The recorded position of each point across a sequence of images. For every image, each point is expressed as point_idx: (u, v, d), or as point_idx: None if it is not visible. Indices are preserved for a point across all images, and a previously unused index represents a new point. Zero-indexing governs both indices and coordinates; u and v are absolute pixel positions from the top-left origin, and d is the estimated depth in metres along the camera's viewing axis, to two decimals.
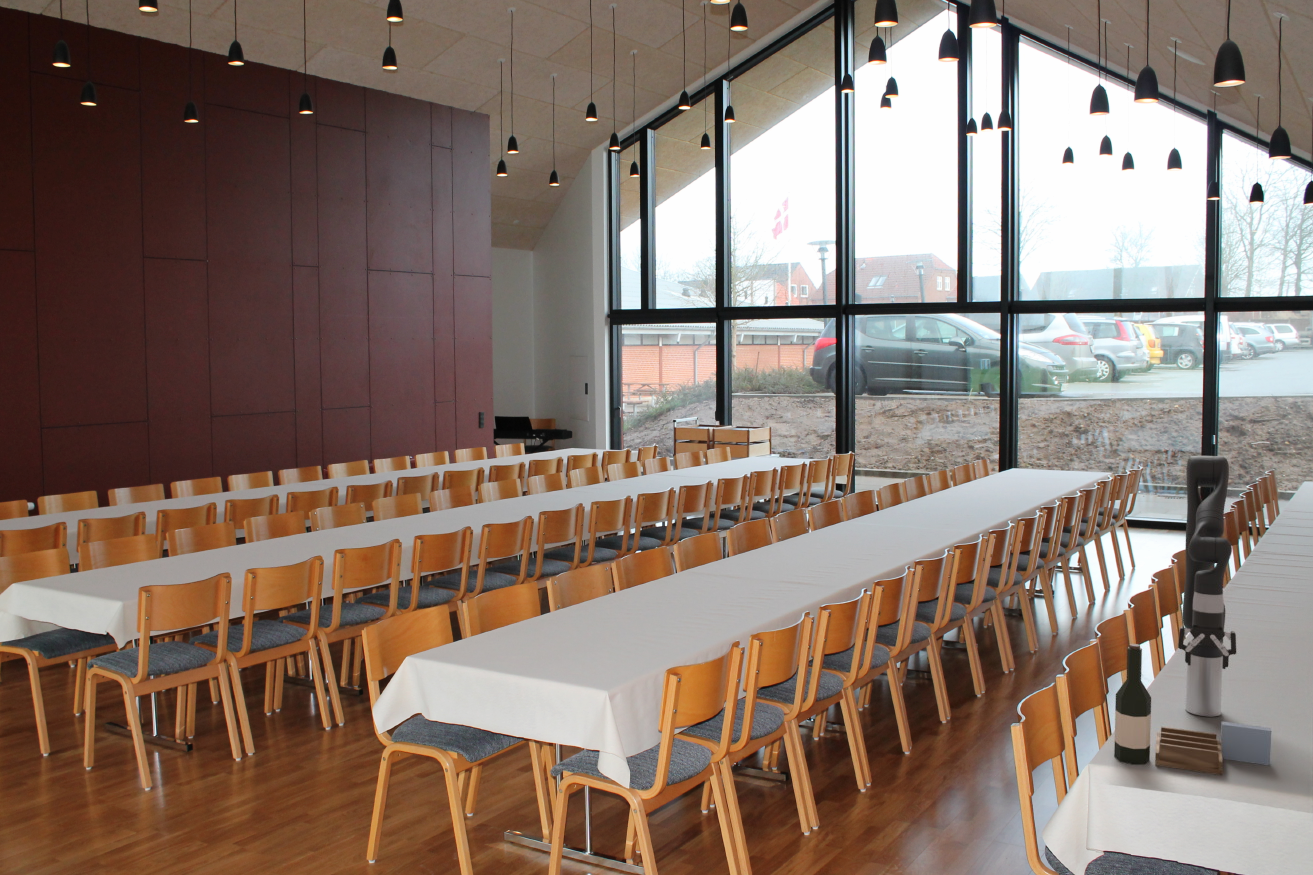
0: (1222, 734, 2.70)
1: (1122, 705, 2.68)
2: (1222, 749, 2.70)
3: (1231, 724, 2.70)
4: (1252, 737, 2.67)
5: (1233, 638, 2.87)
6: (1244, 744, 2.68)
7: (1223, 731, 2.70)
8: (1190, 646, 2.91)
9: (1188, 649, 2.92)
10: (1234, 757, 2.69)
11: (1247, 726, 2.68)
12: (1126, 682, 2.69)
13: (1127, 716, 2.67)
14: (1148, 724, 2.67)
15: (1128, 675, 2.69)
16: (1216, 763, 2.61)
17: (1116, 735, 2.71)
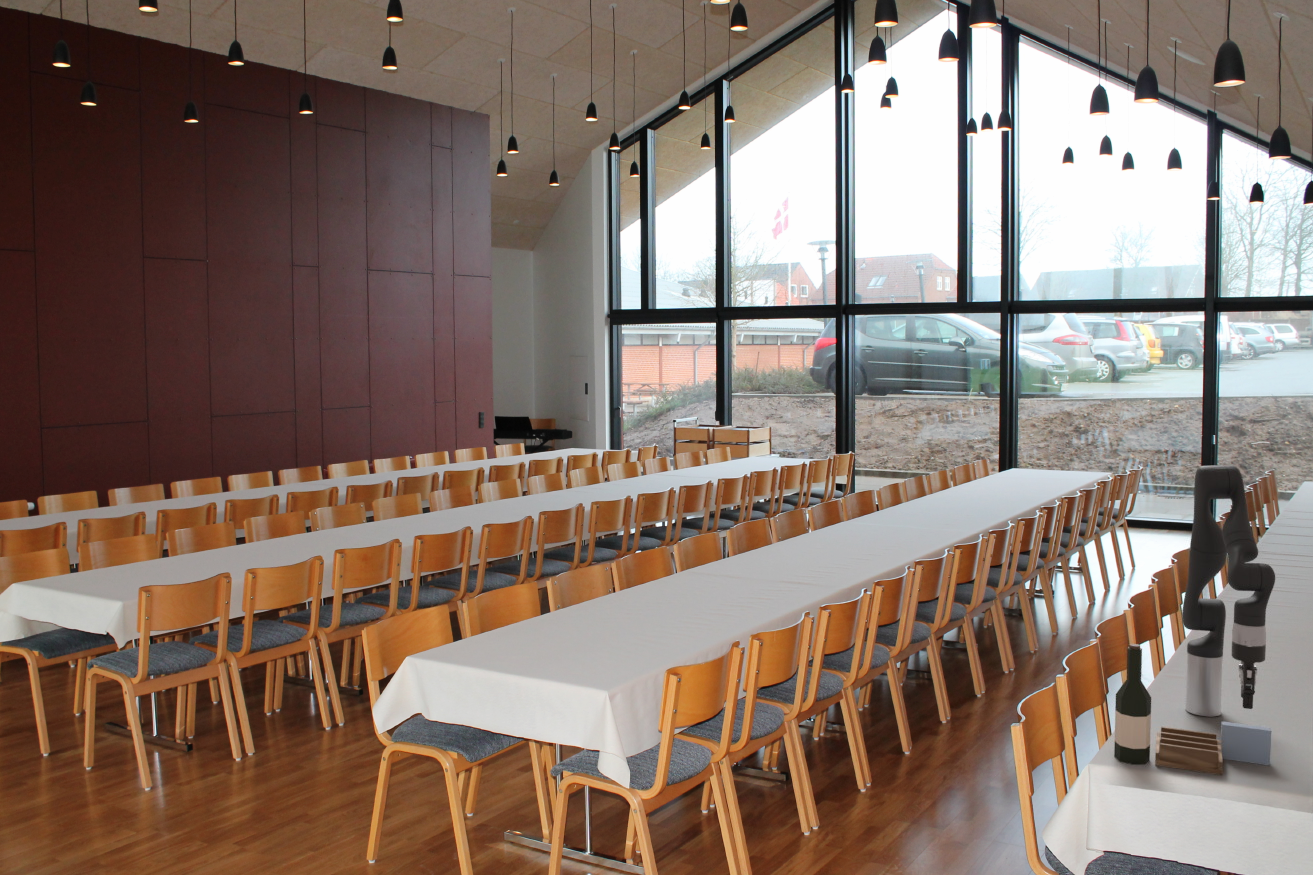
0: (1222, 734, 2.70)
1: (1122, 705, 2.68)
2: (1222, 749, 2.70)
3: (1231, 724, 2.70)
4: (1252, 737, 2.67)
5: None
6: (1243, 744, 2.68)
7: (1223, 731, 2.70)
8: None
9: None
10: (1234, 757, 2.69)
11: (1247, 726, 2.68)
12: (1126, 682, 2.69)
13: (1127, 716, 2.67)
14: (1148, 724, 2.67)
15: (1128, 675, 2.69)
16: (1216, 763, 2.61)
17: (1116, 735, 2.71)
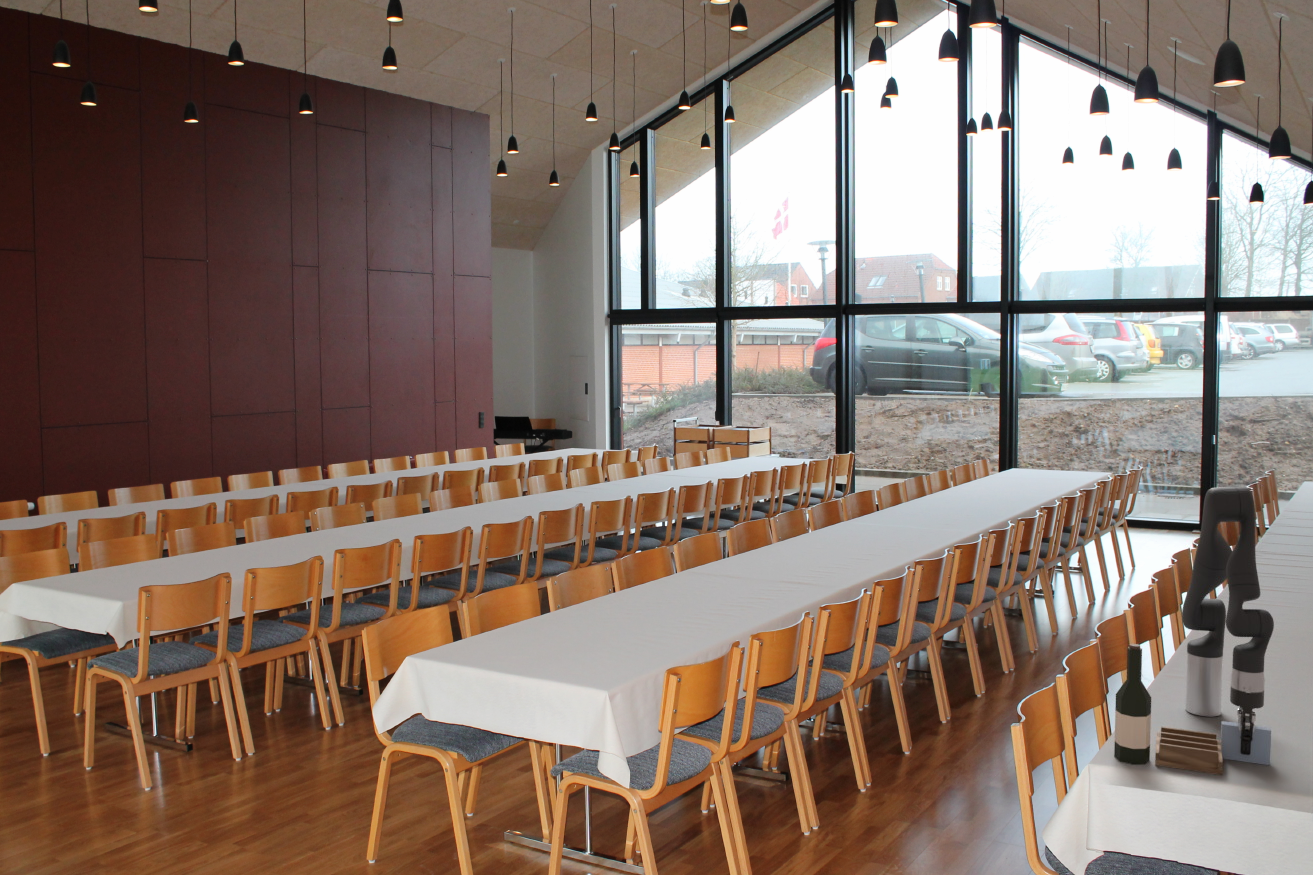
0: (1222, 734, 2.70)
1: (1122, 705, 2.68)
2: (1222, 749, 2.70)
3: (1231, 723, 2.70)
4: (1252, 737, 2.67)
5: None
6: None
7: (1223, 731, 2.70)
8: None
9: None
10: (1234, 756, 2.69)
11: None
12: (1126, 682, 2.69)
13: (1127, 716, 2.67)
14: (1148, 725, 2.67)
15: (1128, 675, 2.69)
16: (1216, 763, 2.61)
17: (1116, 735, 2.71)
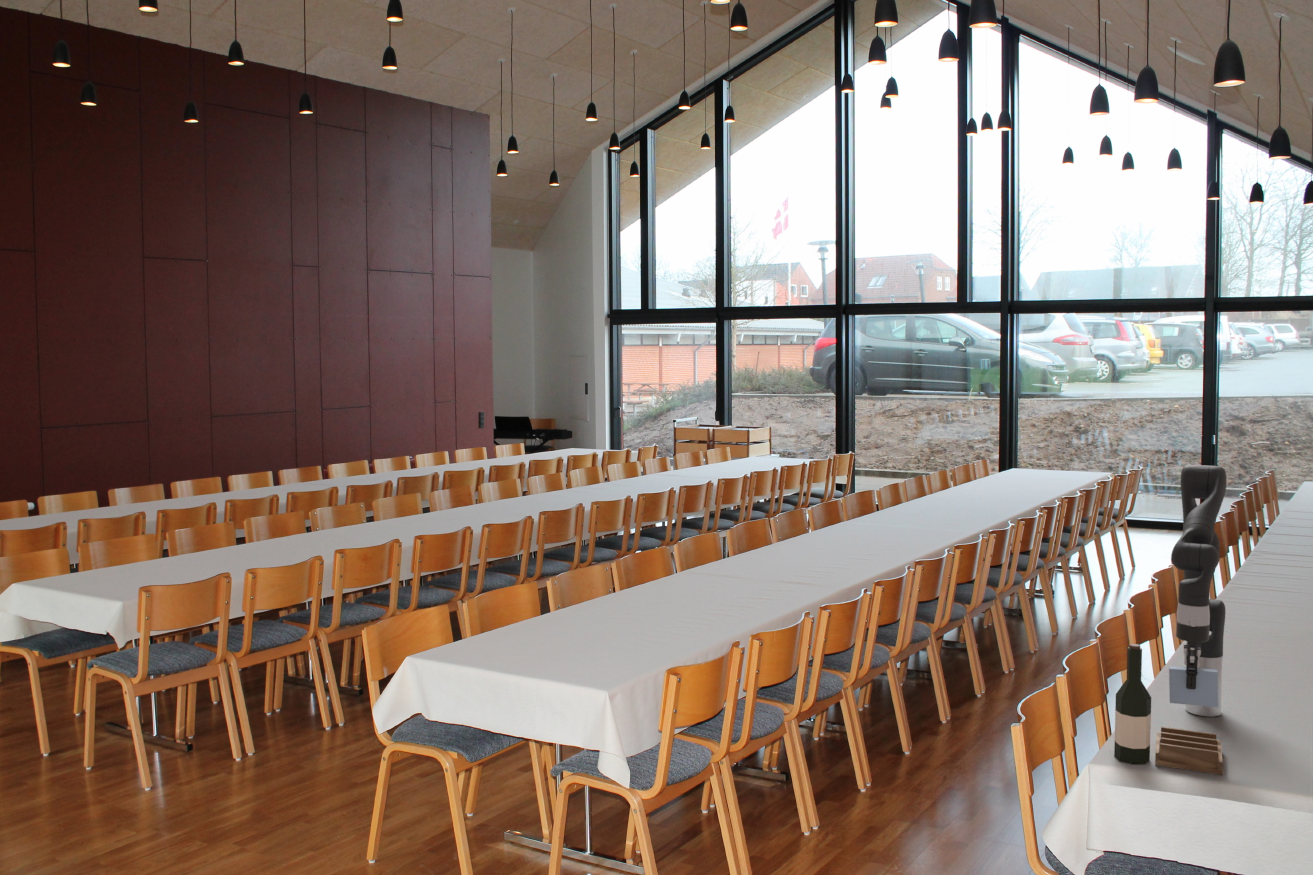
0: (1170, 678, 2.70)
1: (1122, 705, 2.68)
2: (1171, 693, 2.70)
3: (1179, 667, 2.70)
4: (1199, 680, 2.67)
5: None
6: None
7: (1171, 675, 2.70)
8: None
9: None
10: (1183, 700, 2.69)
11: (1194, 669, 2.68)
12: (1126, 682, 2.69)
13: (1127, 716, 2.67)
14: (1148, 724, 2.67)
15: (1128, 675, 2.69)
16: (1216, 763, 2.61)
17: (1116, 735, 2.71)
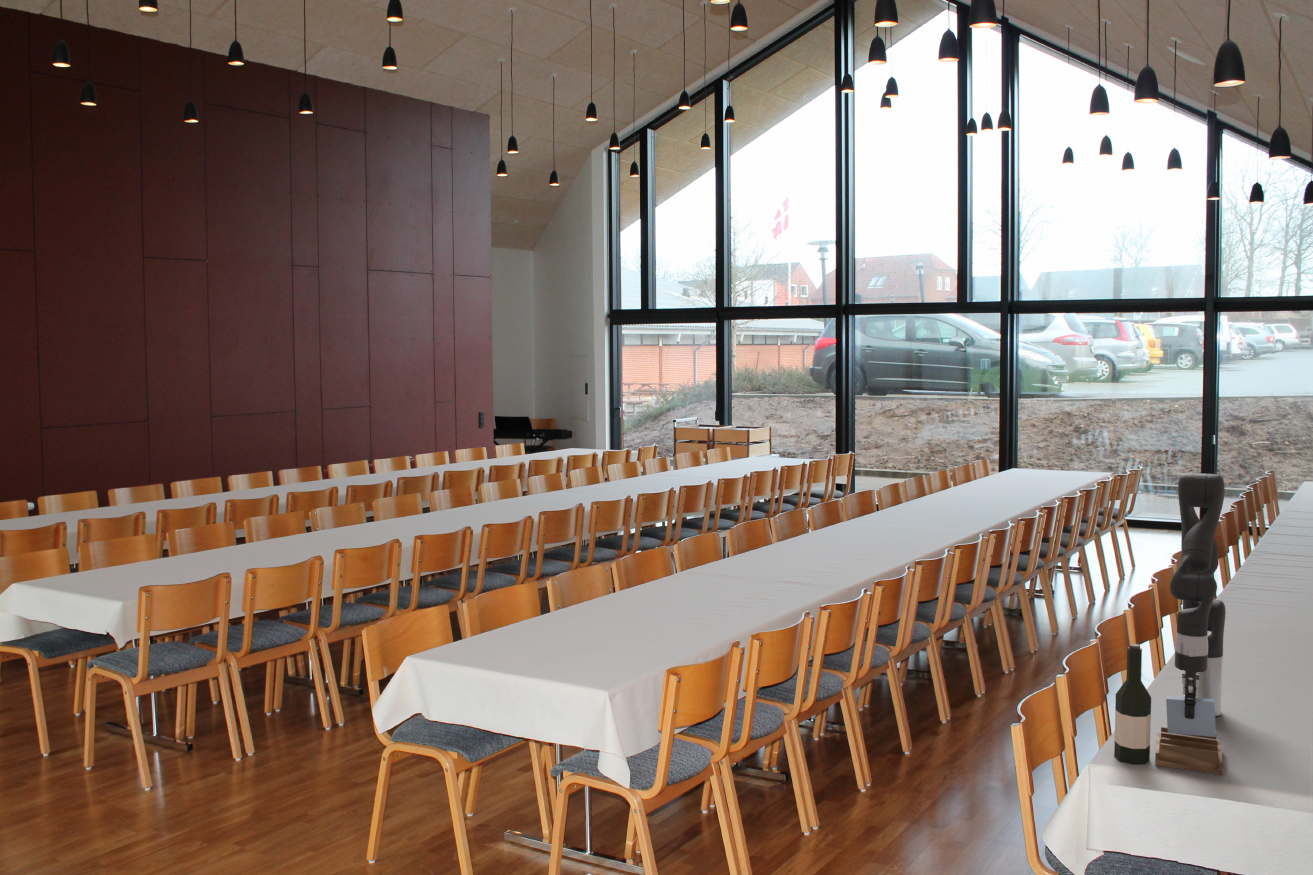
0: (1167, 708, 2.71)
1: (1122, 705, 2.68)
2: (1168, 723, 2.71)
3: (1176, 697, 2.71)
4: (1196, 710, 2.67)
5: None
6: None
7: (1168, 705, 2.70)
8: None
9: None
10: (1180, 730, 2.70)
11: (1191, 699, 2.69)
12: (1126, 682, 2.69)
13: (1127, 716, 2.67)
14: (1148, 724, 2.67)
15: (1128, 675, 2.69)
16: (1216, 763, 2.61)
17: (1116, 735, 2.71)
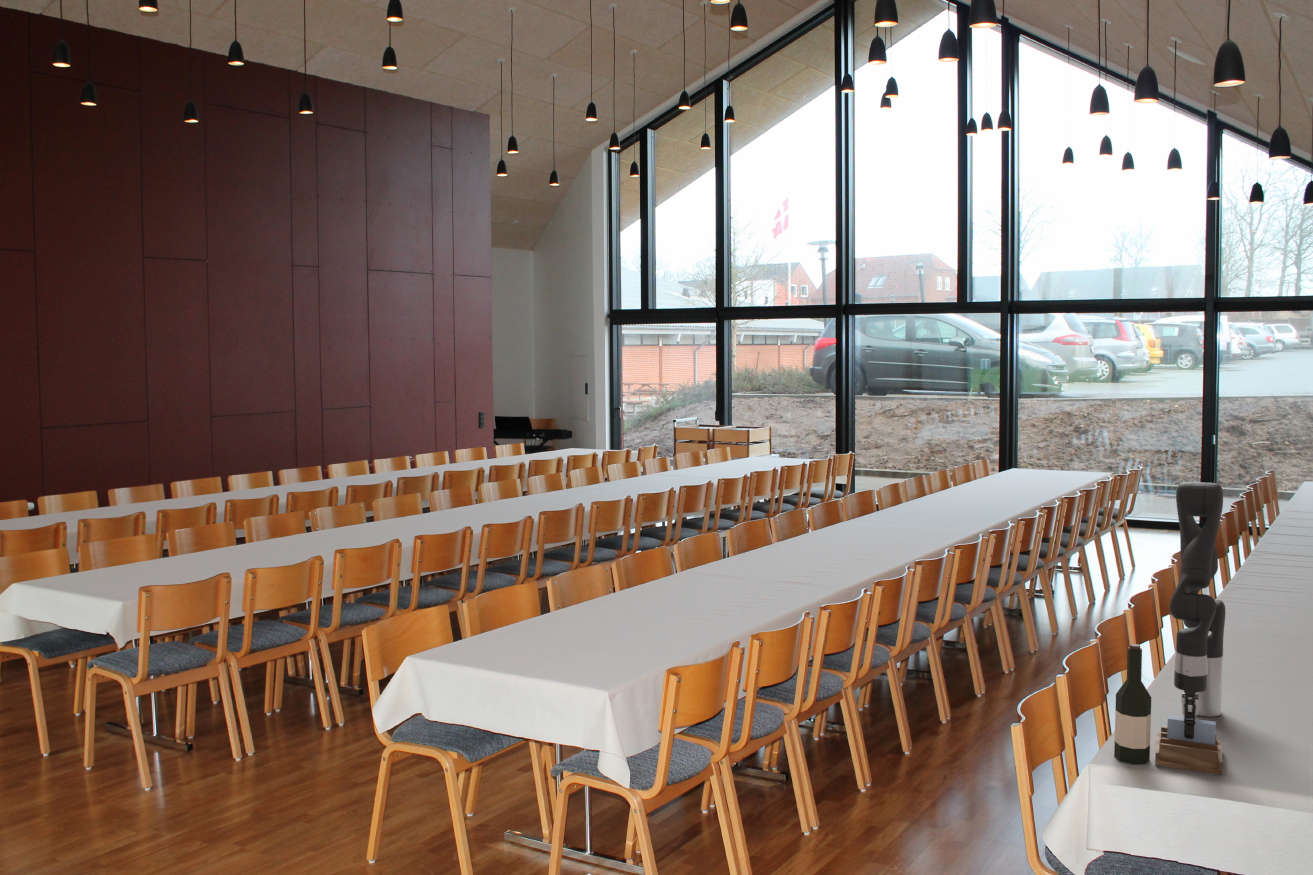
0: (1168, 728, 2.71)
1: (1122, 705, 2.68)
2: None
3: (1177, 718, 2.71)
4: (1197, 731, 2.68)
5: None
6: None
7: (1169, 725, 2.71)
8: None
9: None
10: None
11: None
12: (1126, 682, 2.69)
13: (1127, 716, 2.67)
14: (1148, 725, 2.67)
15: (1128, 675, 2.69)
16: (1216, 763, 2.61)
17: (1116, 735, 2.71)
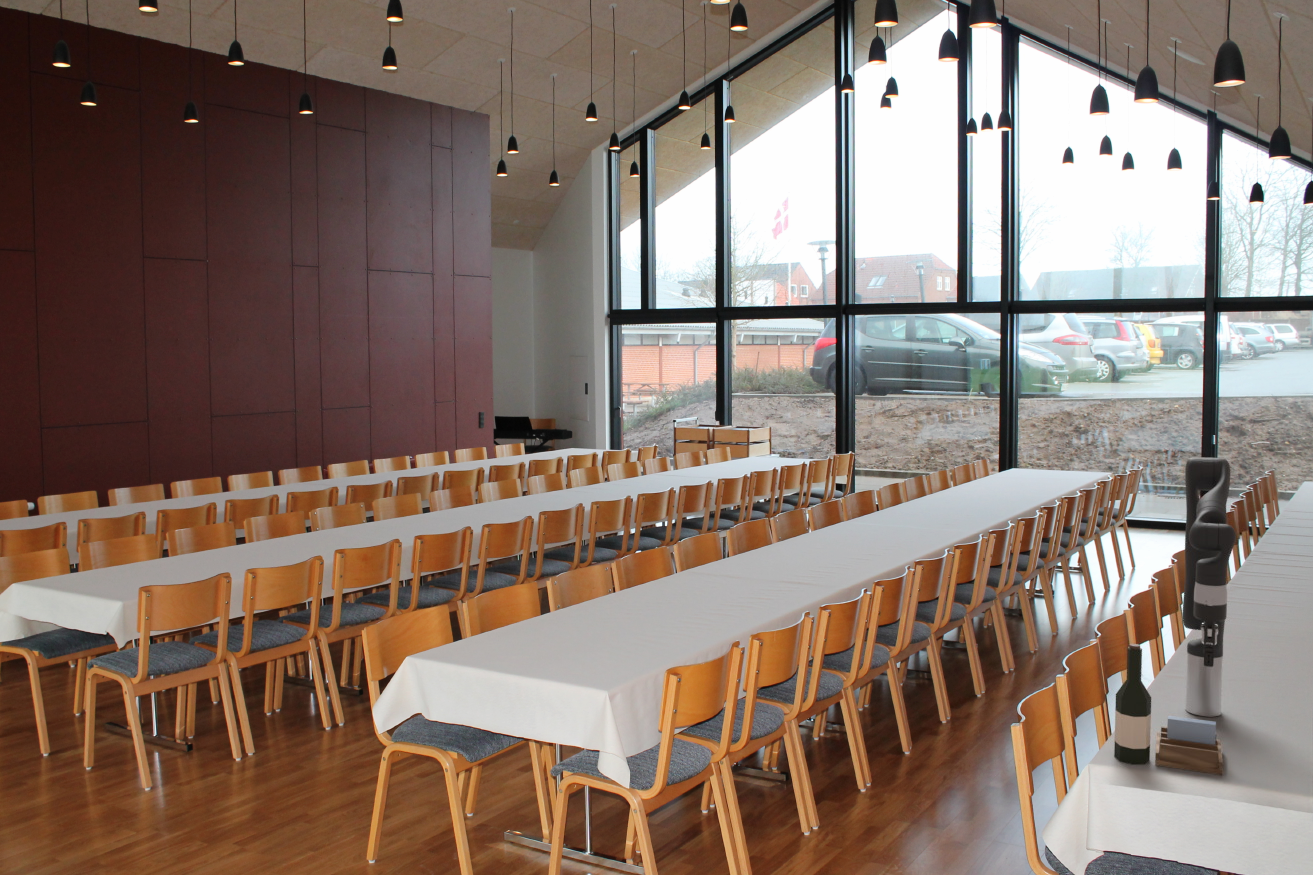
0: (1168, 728, 2.71)
1: (1122, 705, 2.68)
2: None
3: (1177, 718, 2.71)
4: (1197, 731, 2.68)
5: None
6: (1189, 738, 2.69)
7: (1169, 725, 2.71)
8: (1214, 645, 2.67)
9: None
10: None
11: (1192, 720, 2.69)
12: (1126, 682, 2.69)
13: (1127, 716, 2.67)
14: (1148, 724, 2.67)
15: (1128, 675, 2.69)
16: (1216, 763, 2.61)
17: (1116, 735, 2.71)
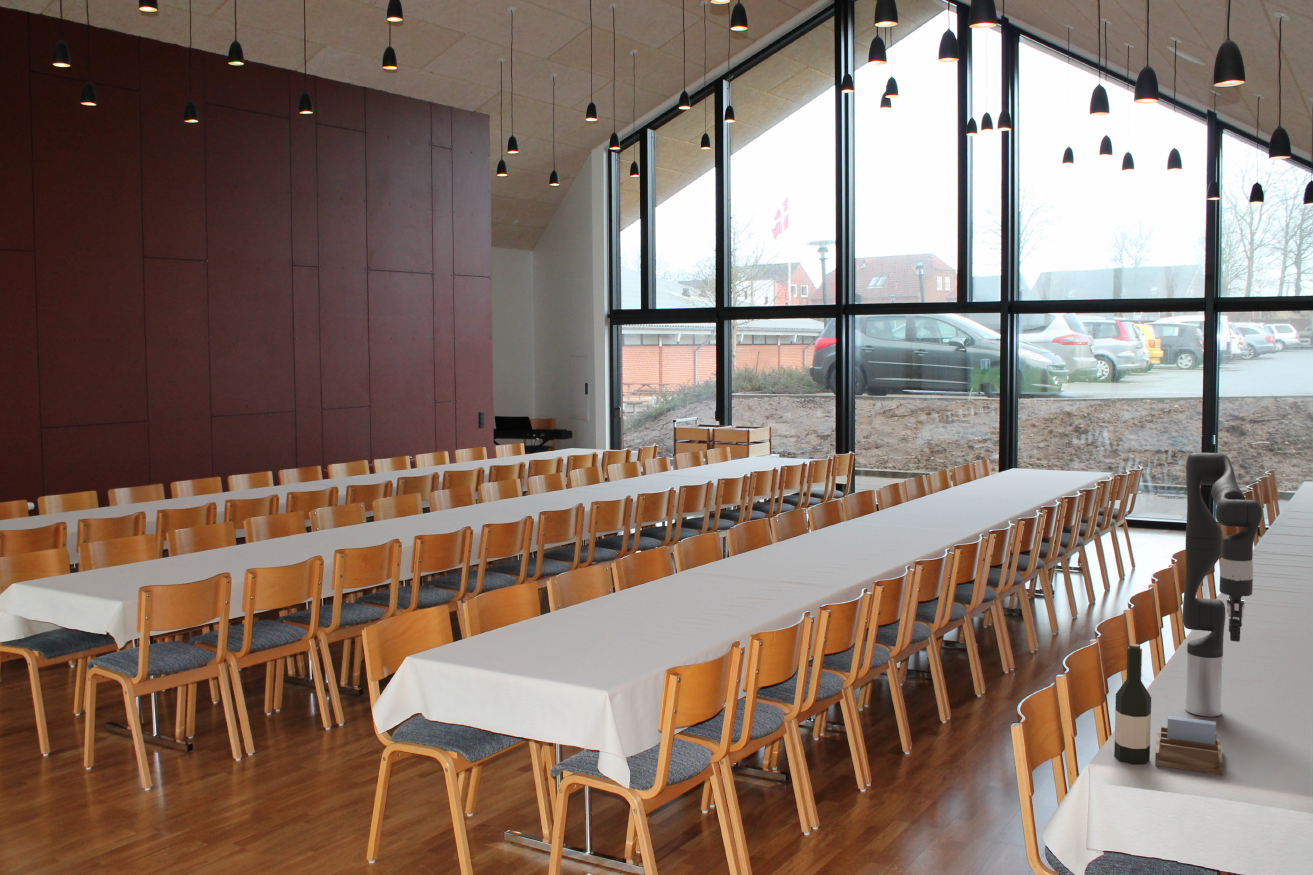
0: (1168, 728, 2.71)
1: (1122, 705, 2.68)
2: None
3: (1177, 718, 2.71)
4: (1197, 731, 2.68)
5: None
6: (1189, 738, 2.69)
7: (1169, 725, 2.71)
8: None
9: None
10: None
11: (1192, 720, 2.69)
12: (1126, 682, 2.69)
13: (1127, 716, 2.67)
14: (1148, 724, 2.67)
15: (1128, 675, 2.69)
16: (1216, 763, 2.61)
17: (1116, 735, 2.71)
